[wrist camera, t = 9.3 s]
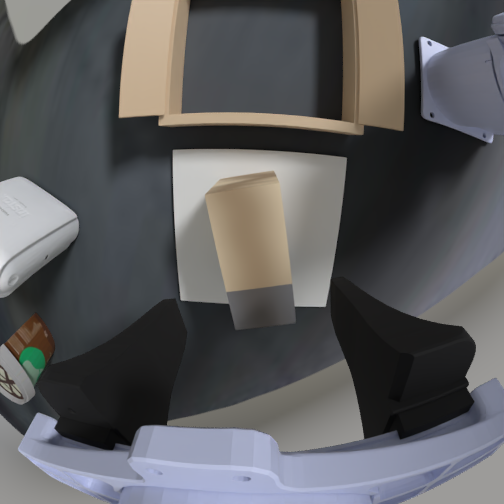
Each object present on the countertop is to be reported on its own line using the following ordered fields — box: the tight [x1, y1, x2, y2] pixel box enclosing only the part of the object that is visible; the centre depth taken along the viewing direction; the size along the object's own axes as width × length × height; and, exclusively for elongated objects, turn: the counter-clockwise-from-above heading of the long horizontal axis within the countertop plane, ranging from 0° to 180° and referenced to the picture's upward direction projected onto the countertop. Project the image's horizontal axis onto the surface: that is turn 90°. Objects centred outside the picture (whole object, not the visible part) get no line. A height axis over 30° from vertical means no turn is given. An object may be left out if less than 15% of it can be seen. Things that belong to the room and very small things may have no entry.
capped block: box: [205, 171, 296, 330], centre depth 19 cm, size 4×9×6 cm, turn 9°
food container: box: [0, 313, 55, 404], centre depth 24 cm, size 12×6×10 cm, turn 134°
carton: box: [119, 0, 405, 135], centre depth 14 cm, size 18×13×5 cm
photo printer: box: [0, 177, 79, 298], centre depth 16 cm, size 10×4×12 cm, turn 58°
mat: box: [173, 149, 347, 307], centre depth 22 cm, size 13×13×1 cm
